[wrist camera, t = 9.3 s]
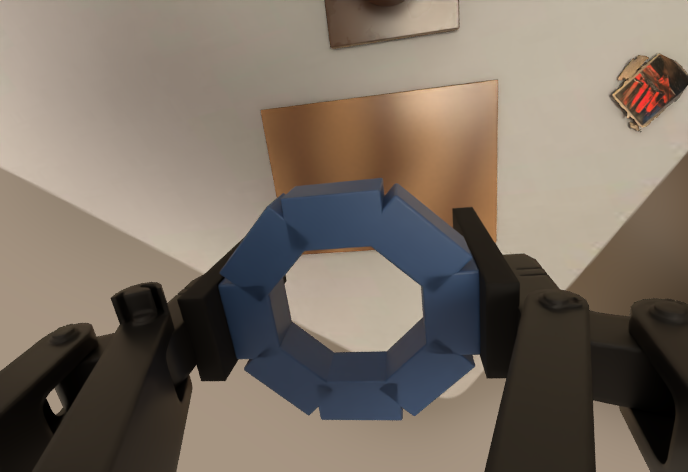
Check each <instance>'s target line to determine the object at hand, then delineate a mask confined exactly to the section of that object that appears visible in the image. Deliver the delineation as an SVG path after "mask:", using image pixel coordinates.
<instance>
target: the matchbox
mask: <svg viewBox="0 0 688 472" xmlns="http://www.w3.org/2000/svg"><path fill="white" fill-rule="evenodd" d="M646 59H649V58H648V57H647V56H641V55H638V58H637V59H636V60H634V59H632V61H631V62H629V65H628V66H626V67H625V69H624V71H623V72H622V73H621V75H620V76H619V80H622V79H623V78H625V79H628V78H629V79H628V80H627V81H625V83H624V85H623V86H622V87H621V88H620V89H618V90H616V92H615V93H614V94H613V96H614V98H615V100H617V102H618V103H620V105H621V107H622V108H624V109H625V110H626V111H627V114H628V115H627V118H629V117H632V118H633V119H634V120H635V121H636V123H637V124H638V125H640V126H641V127H644V126H647V125H649V124H650V122H651V121H652V120H654V118H657V117H658V116H659V115H660V113H661V112H663V111H664V110H665V109H666V107H668V106H669V105H670V104H671V103H673V102H675V101H677V99H678V98H679V97H680V95H681V94H682V93H683V91H684V90H685V88H686V87H687V85H688V74H687V72H686V71H684V69H682V66H681V65H679V64H678V63H677V62H676V61H674V60H672V59H669V58H667V57H665V56H663V55H661V54H660V53H659V54H658V55H657V56H656V57H654V58H653V59H652V60H651V61H649V62H648V63H647V64H646V65H645V66H641V65H643V63H644V61H646ZM640 67H641V70H639V71H638V72H636V71H637V69H639V68H640ZM635 73H636V74H635ZM631 77H632V78H631ZM629 124H630V123H629ZM638 125H636V124H632V122H631V124H630V127H631V128H633V129H635V130H638V131H641V130H639V127H638ZM641 132H642V131H641Z"/></svg>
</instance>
